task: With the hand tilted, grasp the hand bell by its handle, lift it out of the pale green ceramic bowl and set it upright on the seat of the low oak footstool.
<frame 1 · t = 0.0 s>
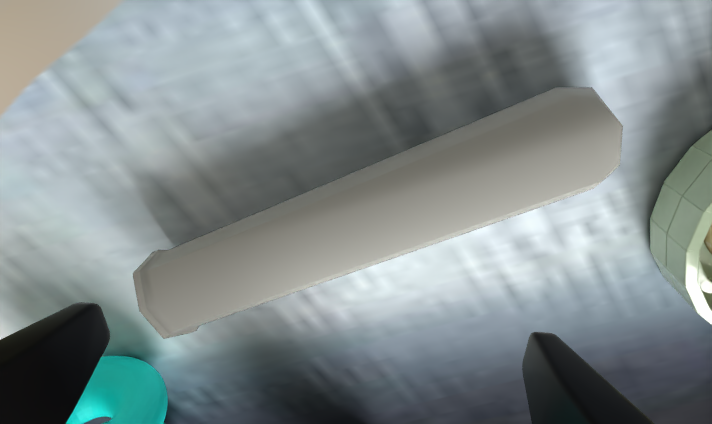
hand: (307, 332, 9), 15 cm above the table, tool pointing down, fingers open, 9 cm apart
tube: (362, 198, 24), on the table
donuts: (140, 390, 34), on the table
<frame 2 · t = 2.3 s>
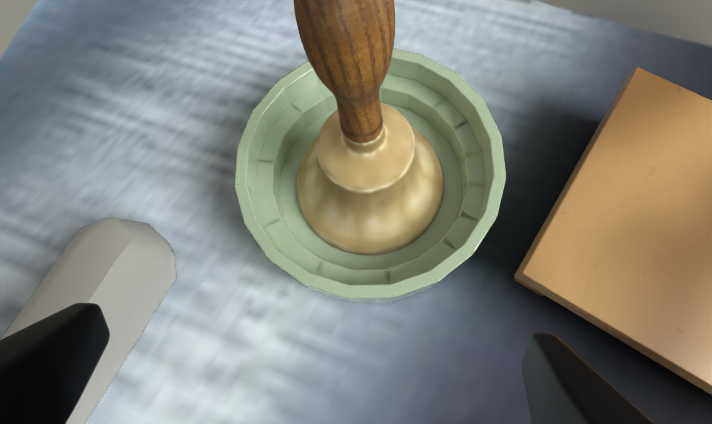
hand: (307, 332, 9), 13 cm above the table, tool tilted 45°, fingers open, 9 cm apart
footstool: (675, 259, 21), on the table
bowl: (369, 185, 24), on the table
hand bell: (369, 184, 24), resting on bowl
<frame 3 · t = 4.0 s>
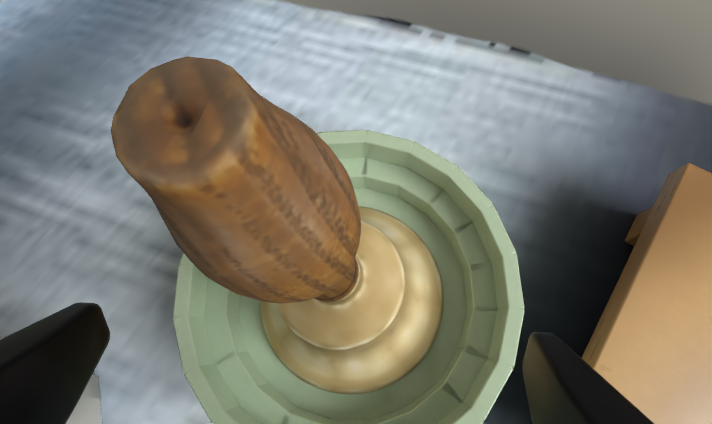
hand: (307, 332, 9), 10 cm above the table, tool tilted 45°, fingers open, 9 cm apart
bowl: (351, 295, 19), on the table
hand bell: (350, 295, 19), resting on bowl
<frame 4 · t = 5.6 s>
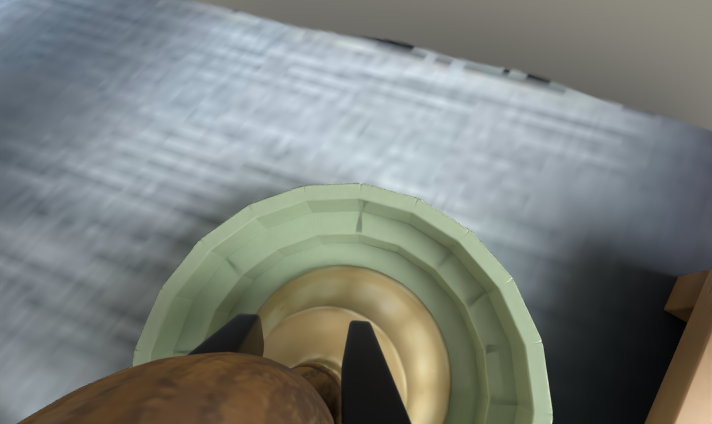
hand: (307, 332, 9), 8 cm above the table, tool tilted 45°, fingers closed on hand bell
bowl: (343, 372, 16), on the table
hand bell: (342, 372, 16), resting on bowl, touching gripper
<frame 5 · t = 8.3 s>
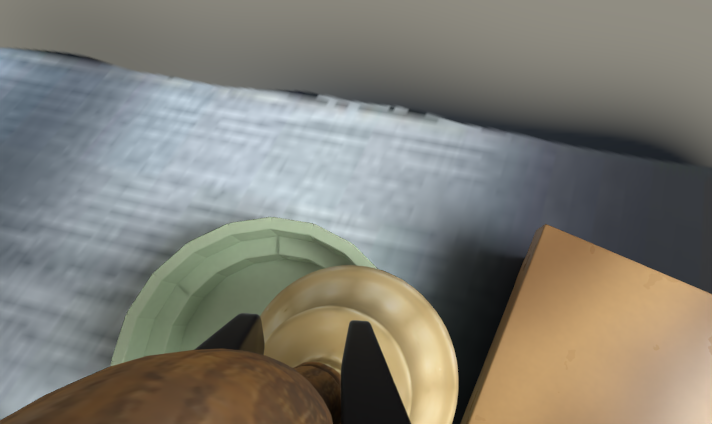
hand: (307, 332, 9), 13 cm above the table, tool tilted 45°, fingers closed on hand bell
footstool: (616, 418, 19), on the table
bowl: (278, 360, 21), on the table
hand bell: (348, 372, 16), point 5 cm above the table, touching gripper
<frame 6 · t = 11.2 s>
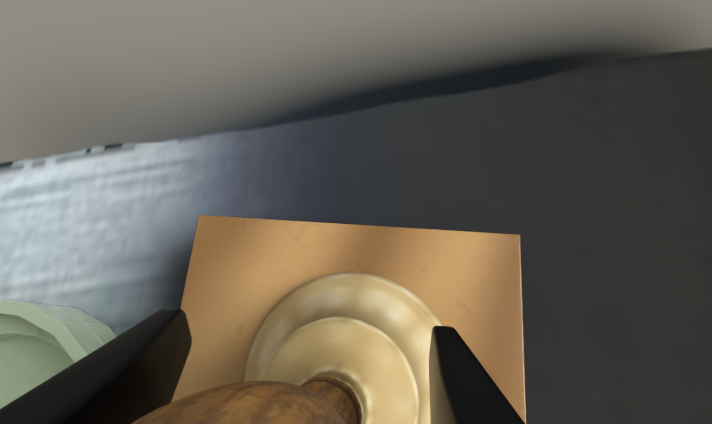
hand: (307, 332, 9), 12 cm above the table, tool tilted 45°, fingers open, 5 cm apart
footstool: (349, 365, 20), on the table
hand bell: (351, 379, 16), point 4 cm above the table, touching footstool
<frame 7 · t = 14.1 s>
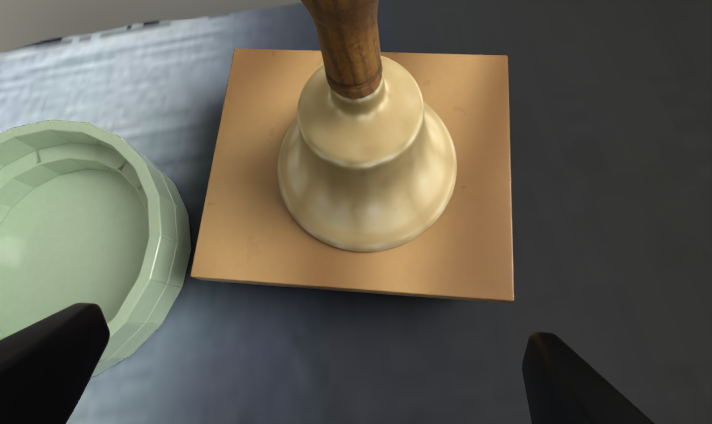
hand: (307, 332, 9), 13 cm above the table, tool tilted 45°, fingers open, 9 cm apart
footstool: (362, 188, 23), on the table
bowl: (77, 256, 23), on the table
hand bell: (366, 166, 19), point 4 cm above the table, touching footstool
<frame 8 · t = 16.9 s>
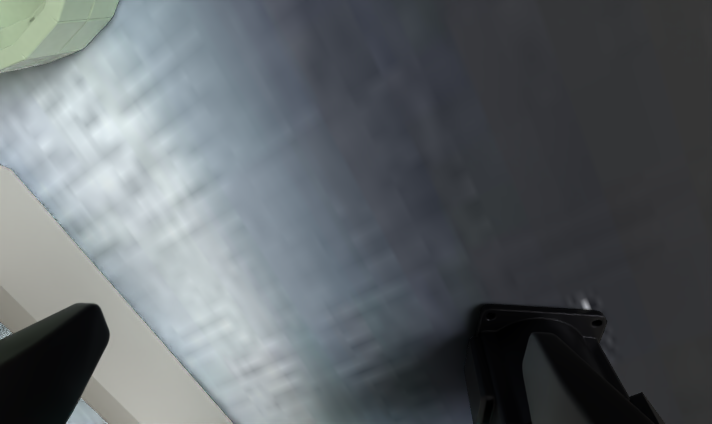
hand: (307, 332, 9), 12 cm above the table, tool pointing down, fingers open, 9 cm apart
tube: (132, 319, 26), on the table
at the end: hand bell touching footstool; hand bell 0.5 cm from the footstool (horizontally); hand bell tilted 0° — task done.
